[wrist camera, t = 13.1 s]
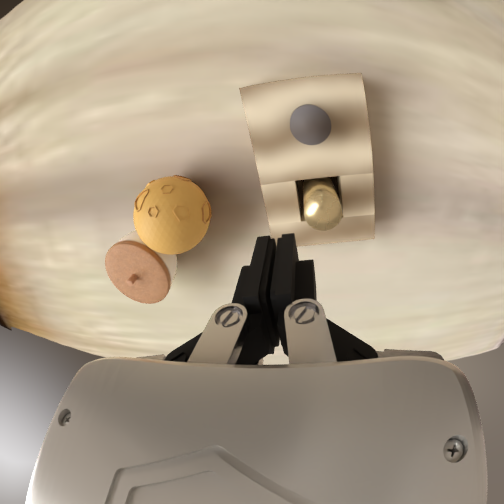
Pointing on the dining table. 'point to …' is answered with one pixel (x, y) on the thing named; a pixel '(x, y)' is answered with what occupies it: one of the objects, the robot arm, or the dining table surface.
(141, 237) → the stress ball
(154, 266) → the lidded jar
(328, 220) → the brass cylinder
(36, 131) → the dining table surface
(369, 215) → the jig
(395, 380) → the robot arm
